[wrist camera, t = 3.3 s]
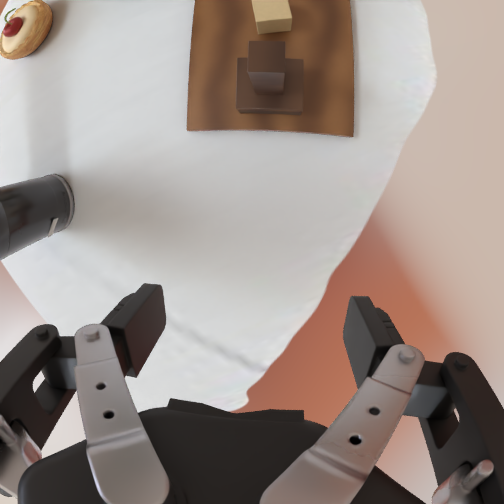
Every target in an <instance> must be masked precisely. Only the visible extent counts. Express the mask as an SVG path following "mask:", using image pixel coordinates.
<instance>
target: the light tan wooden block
mask: <svg viewBox="0 0 504 504" xmlns="http://www.w3.org/2000/svg"><path fill="white" fill-rule="evenodd" d="M251 1H252V6H253V11H254V15H255V20H256V25H257V30H258V34H265V33H273V32H283V31H291V25H292V15H291V11H290V7H289V3H288V0H251Z"/></svg>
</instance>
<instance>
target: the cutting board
mask: <svg viewBox="0 0 504 504" xmlns="http://www.w3.org/2000/svg"><path fill="white" fill-rule="evenodd" d="M288 3H289V7H290V11H291V15H292V25H291V31H283V32H273V33H265V34H258V30H257V25H256V20H255V15H254V11H253V6H252V1H251V0H195V6H194V15H193V26H192V37H191V50H190V65H189V82H188V105H187V131H217V130H249V131H281V132H298V133H312V134H324V135H334V136H343V137H353V133H354V56H353V35H352V20H351V8H350V0H288ZM248 41H285V58H292V59H303V60H304V82H303V111H302V113H301V115H286V114H259V113H240V112H239V111H238V110H237V109H236V78H237V58H242V57H248Z"/></svg>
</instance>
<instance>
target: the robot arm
mask: <svg viewBox="0 0 504 504" xmlns="http://www.w3.org/2000/svg"><path fill="white" fill-rule="evenodd" d="M73 212H74V200H73V195H72V192H71V189H70V187H69V185H68V184H67V182H66V181H65V180H64V179H63V178H62V177H60V176H58V175H54V174H53V175H47V176H44V177H41V178H36V179H31V180H27V181H23V182H19V183H15V184H11V185H7V186H3V187H0V260H2V259H4V258H6V257H8V256H9V255H11V254H13V253H15V252H17V251H19V250H21V249H23V248H25V247H27V246H29V245H31V244H33V243H35V242H37V241H39V240H41V239H43V238H45V237H47V236H48V237H49V236H51V235H52V234H54V233H56V232H59V231H61V230H63V229H65V228H66V227H67V226H68V225H69V224H70V222H71V220H72V217H73ZM165 325H166V313H165V305H164V296H163V289H162V286H161V285H157V284H146V283H144V284H143V285H142V286H141V287H140V288H139V289H138V290H137V291H136V293H132V294H130V295H128V296H126V297H124V298H123V299H122V300H121V301H120V302H119V303H118V305H117V306H116V307H115V308H114V310H112V311H111V312H110V313H109V314H108V315H107V316H106V318H105V319H104V320H103V321H102V322H101V323H100V324H89V325H86V326H84V327H82V328H80V329H79V330H78V331H77V332H76V333H75V336H59V333H58V330H57V328H56V327H55V326H54V325H51V324H44V325H40V326H37V327H35V328H33V329H32V330H31V331H30V332H29V333H28V334H27V335H26V336H25V337H24V338H23V339H22V340H21V341H20V342H19V343H18V344H17V345H16V346H15V347H14V348H13V349H12V350H11V351H10V352H9V353H8V354H7V355H6V356H5V358H4V359H3V360H2V361H1V362H0V494H2V495H4V496H7V497H12V496H13V497H15V498H16V499H18V504H426V503H424V502H423V501H422V500H420V499H419V498H418V497H416V496H415V495H413V494H412V493H410V492H409V491H408V490H406V489H405V488H404V487H402V486H401V485H400V484H398V483H397V482H396V481H394V480H393V479H392V478H391V477H389V476H388V475H387V474H385V473H384V472H383V471H382V470H380V469H379V468H378V467H377V466H375V464H376V462H377V461H378V459H379V457H380V456H381V454H382V452H383V450H384V449H385V447H386V445H387V443H388V442H389V440H390V438H391V436H392V434H393V432H394V431H395V429H396V427H397V425H398V423H399V421H400V419H401V416H402V415H407V416H414V417H418V418H419V421H420V424H421V428H422V431H423V434H424V437H425V440H426V444H427V447H428V450H429V454H430V457H431V461H432V464H433V468H434V472H435V476H436V479H437V483H438V488H437V489H436V490H435V492H434V494H433V496H432V504H504V409H503V407H502V405H501V403H500V402H499V400H498V398H497V396H496V395H495V393H494V391H493V390H492V388H491V386H490V385H489V383H488V381H487V380H486V378H485V377H484V375H483V374H482V372H481V370H480V369H479V367H478V366H477V364H476V363H475V361H474V360H473V359H472V358H471V357H469V356H468V355H466V354H463V353H459V352H453V353H449V354H448V355H447V356H446V357H445V359H444V362H443V363H437V362H430V361H425V358H424V355H423V354H422V352H421V351H420V350H418V349H416V348H415V347H413V346H410V345H405V343H404V341H403V339H402V338H401V336H400V334H399V333H398V331H397V329H396V328H395V326H394V324H393V323H392V321H391V319H390V317H389V316H388V314H387V313H385V312H384V311H383V310H381V309H380V308H375V307H374V305H373V303H372V301H371V300H370V298H369V297H368V296H351V298H350V300H349V305H348V310H347V315H346V319H345V325H344V330H343V340H344V344H345V347H346V350H347V354H348V357H349V360H350V364H351V367H352V371H353V374H354V377H355V381H356V384H357V388H358V390H357V392H356V393H355V395H354V396H353V397H352V399H351V400H350V401H349V403H348V404H347V405H346V407H345V408H344V409H343V410H342V412H341V413H340V414H339V415H338V417H337V418H336V419H335V421H334V422H333V423H332V424H331V425H330V427H329V428H327V427H325V426H323V425H321V424H318V423H315V422H312V421H308V420H304V410H274V409H269V410H262V411H255V412H245V413H231V412H227V411H224V410H221V409H218V408H215V407H212V406H209V405H206V404H203V403H197V402H190V401H184V400H178V399H172V398H170V400H169V403H168V405H167V407H160V408H153V409H148V410H145V411H142V412H139V413H137V410H136V408H135V405H134V403H133V400H132V397H131V395H130V392H129V389H128V387H127V384H126V381H125V376H131V377H135V378H137V376H138V374H139V372H140V371H141V369H142V367H143V365H144V364H145V362H146V360H147V358H148V357H149V355H150V353H151V351H152V350H153V348H154V346H155V344H156V343H157V341H158V339H159V337H160V336H161V334H162V332H163V331H164V328H165ZM40 371H42V373H43V375H44V377H45V379H44V381H43V382H42V383H41V385H40V386H39V388H38V389H37V390H36V392H35V393H34V391H33V381H34V379H35V377H36V376H37V375H38V373H39V372H40ZM76 390H77V394H78V400H79V406H80V412H81V417H82V421H83V426H84V431H85V435H86V439H85V440H83V441H82V442H79V443H77V444H75V445H72V446H70V447H68V448H66V449H64V450H61V451H59V452H57V453H55V454H52V455H50V456H48V457H45V458H43V459H42V455H41V450H42V448H43V446H44V444H45V443H46V441H47V439H48V437H49V436H50V434H51V432H52V430H53V429H54V427H55V425H56V423H57V422H58V420H59V418H60V417H61V415H62V413H63V412H64V410H65V408H66V407H67V405H68V403H69V402H70V400H71V398H72V397H73V395H74V394H75V392H76ZM455 408H456V409H457V411H458V414H459V422H458V420H457V417H456V415H455V413H454V409H455Z"/></svg>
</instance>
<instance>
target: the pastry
mask: <svg viewBox="0 0 504 504" xmlns="http://www.w3.org/2000/svg"><path fill="white" fill-rule="evenodd" d="M15 9H16V8H15ZM15 9H13V10H15ZM13 10H11V11H13ZM11 11H9V12H8V13H7V14H6V16H5V21H6V22H7V23H6V25H5V27H4V30H3V31H2V33H1V38H0V54H1V55H2V57H4V58H7V59H12V60H13V59H19V58H23V57H25V56H27V55H29V54H31V53H32V52H34V51H35V50H36V49H37V48H38V47H39V46H40V45H41V43H42V42H43V41H44V39H45V38H46V36H47V34H48V32H49V30H50V28H51V25H52V19H53V18H52V11H51V9H50V7H49V5H48V4H46V3H45V2H43V1H42V0H34V1H30V2H28V3H27V4H24V5H22V6H21V8H19V9H17V10H16V11H15V13H14V14H13V15H12V16H11V17H10V20H9V21H7V20H6V17H7V15H8V14H9V13H10V12H11Z"/></svg>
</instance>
